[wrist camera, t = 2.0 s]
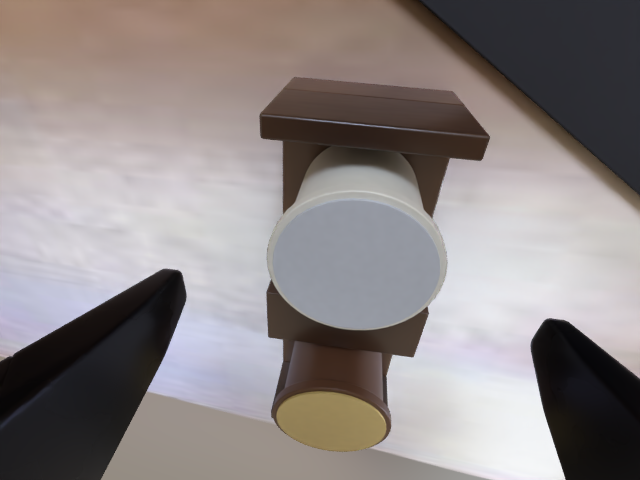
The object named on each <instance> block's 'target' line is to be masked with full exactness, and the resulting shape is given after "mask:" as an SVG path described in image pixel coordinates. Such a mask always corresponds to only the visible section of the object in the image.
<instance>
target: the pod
mask: <svg viewBox="0 0 640 480" xmlns="http://www.w3.org/2000/svg"><path fill="white" fill-rule="evenodd" d="M272 413H273V418H274V421H275V423H276V424H277V426H278V427H279V428H280V429H281V430H282V431H283V432H284V433H285V434H287V435H289V436H290V437H291V438H293V439H295V440H296V441H298V442H300V443H303V444H305V445H308V446H311V447H314V448H318V449H322V450H328V451H339V452H343V451H344V452H347V451H357V450H362V449H366V448H369V447H372V446H374V445H377V444H378V443H380V442H382V441H383V440H384V439H385V438H386V437H387V436H388V434H389V432H390V429H391V415H390V411H389V409H388V407H387V405H386V404H385V403H384V402H383V382H382V353H378V352H371V351H364V350H357V349H349V348H342V347H335V346H328V345H320V344H313V343H306V342H299V341H295V343H294V348H293V353H292V357H291V362H290V366H289V371H288V375H287V380H286V384H285V389H283V390H282V391H281V392H280V393H279V394H278V395H277V397H276V399H275V402H274V406H273V412H272Z"/></svg>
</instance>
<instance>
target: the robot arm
mask: <svg viewBox="0 0 640 480" xmlns="http://www.w3.org/2000/svg"><path fill="white" fill-rule="evenodd" d="M185 302H186V289H185V285H184V280H183V276H182V273H181V272H180V271H178V270H173V269H162V270H160V271H159V272H157V273H155V274H153V275H152V276H150V277H148V278H146V279H145V280H143V281H141V282H139V283H138V284H136V285H134V286H132V287H131V288H129V289H127V290H125V291H123V292H122V293H120V294H118V295H116V296H115V297H113V298H111V299H109V300H108V301H106V302H104V303H102V304H101V305H99V306H97V307H95V308H94V309H92V310H90V311H88V312H87V313H85V314H83V315H81V316H80V317H78V318H76V319H74V320H73V321H71V322H69V323H67V324H66V325H64V326H62V327H60V328H59V329H57V330H55V331H53V332H52V333H50V334H48V335H46V336H45V337H43V338H41V339H39V340H38V341H36V342H34V343H32V344H30V345H29V346H27V347H25V348H23V349H22V350H20V351H18V352H16V353H15V354H14V355H13V357H12V356H10V357H7V358H6V359H4V360H2V361H1V362H0V480H101V478H102V476H103V474H104V472H105V470H106V468H107V466H108V464H109V462H110V460H111V459H112V457H113V455H114V453H115V451H116V449H117V447H118V445H119V443H120V441H121V439H122V438H123V436H124V434H125V431H126V430H127V428H128V426H129V424H130V422H131V420H132V418H133V416H134V414H135V412H136V410H137V409H138V407H139V405H140V403H141V401H142V399H143V397H144V395H145V393H146V391H147V389H148V387H149V385H150V383H151V382H152V380H153V378H154V376H155V374H156V372H157V370H158V368H159V366H160V364H161V362H162V360H163V358H164V356H165V354H166V351H167V349H168V346H169V344H170V341H171V339H172V336H173V333H174V331H175V328H176V326H177V323H178V320H179V318H180V315H181V313H182V310H183V308H184V305H185ZM531 353H532V358H533V363H534V368H535V372H536V377H537V382H538V387H539V392H540V397H541V401H542V405H543V409H544V413H545V416H546V420H547V423H548V426H549V429H550V432H551V435H552V438H553V442H554V445H555V448H556V451H557V454H558V457H559V460H560V463H561V466H562V469H563V472H564V476H565V479H566V480H640V379H639V378H638V377H637V376H636V375H634V374H633V373H632V372H631V371H629V370H628V369H627V368H626V367H624V366H623V365H622V364H621V363H619V362H618V361H617V360H616V359H614V358H613V357H612V356H611V355H609V354H608V353H607V352H605V351H604V350H603V349H602V348H600V347H599V346H598V345H597V344H595V343H594V342H593V341H592V340H590V339H589V338H588V337H587V336H585V335H584V334H583V333H582V332H580V331H579V330H578V329H577V328H575V327H574V326H573V325H572V324H570V323H569V322H567V321H565V320H559V319H552V318H549V319H546V320H544V322H543V323H542V325H541V326H540V328H539V329H538V331H537V332H536V334H535V336H534V337H533V339H532V341H531Z"/></svg>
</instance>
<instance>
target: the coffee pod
mask: <svg viewBox="0 0 640 480" xmlns="http://www.w3.org/2000/svg"><path fill="white" fill-rule="evenodd" d="M267 264H268V270H269V274H270V277H271V279H272V282H273V284H274V286H275V287H276V289H277V291H278V292H279V293H280V295H281V296H282V297H283V298H284V300H285V301H286V302H288V303H289V304H290V305H291V306H292V307H293V308H294V309H296V310H297V311H298V312H300V313H301V314H303V315H305V316H306V317H308V318H310V319H312V320H314V321H316V322H319V323H322V324H325V325H328V326H332V327H335V328H341V329H348V330H374V329H380V328H386V327H389V326H393V325H396V324H399V323H401V322H404V321H406V320H408V319H410V318H412V317H414V316H415V315H417V314H418V313H420V312H421V311H422V310H423V309H425V308H426V307H427V306H428V305H429V304H430V303H431V302H432V301H433V300H434V298H435V297H436V295H437V294H438V292H439V291H440V289H441V287H442V285H443V282H444V280H445V276H446V272H447V253H446V249H445V245H444V242H443V238H442V235H441V233H440V231H439V229H438V227H437V225H436V224H435V222H434V221H433V219H432V218H431V217H430V216H429V215H428V214H427V213H426V212H425V210H424V209H423V204H422V200H421V196H420V192H419V188H418V184H417V180H416V176H415V173H414V171H413V169H412V167H411V166H410V164H409V163H408V161H407V160H406V159H405V158H404V157H403V156H402V155H401V154H400V153H398V152H388V151H378V150H368V149H358V148H349V147H339V146H331V147H329V148H327V149H326V150H324V151H323V152H321V153H320V154H319V155H318V156H317V157H316V158H315V159H314V161H313V162H312V163H311V164H310V166H309V168H308V169H307V172H306V174H305V177H304V179H303V182H302V185H301V188H300V190H299V193H298V196H297V198H296V201H295V203H294V204H293V205H292V206H291V207H290V208H289V209H287V210H286V212H285V213H284V214H283V215H282V216H281V218H280V219H279V221H278V222H277V224H276V226H275V228H274V230H273V233H272V235H271V238H270V240H269V244H268V249H267Z"/></svg>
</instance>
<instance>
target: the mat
mask: <svg viewBox="0 0 640 480" xmlns="http://www.w3.org/2000/svg"><path fill="white" fill-rule="evenodd" d="M419 1H420V2H421V3H422V4H423V5H424V6H425V7H427V8H428V9H429V10H430V11H431V12H432V13H433V14H434V15H436V16H437V17H438V18H439V19H440V20H441V21H442V22H444V23H445V24H446V25H447V26H448V27H449V28H450V29H452V30H453V31H454V32H455V33H456V34H457V35H458V36H459V37H461V38H462V39H463V40H464V41H465V42H466V43H467V44H469V45H470V46H471V47H472V48H473V49H474V50H475V51H476V52H478V53H479V54H480V55H481V56H482V57H483V58H484V59H486V60H487V61H488V62H489V63H490V64H491V65H492V66H494V67H495V68H496V69H497V70H498V71H499V72H500V73H501V74H503V75H504V76H505V77H506V78H507V79H508V80H509V81H511V82H512V83H513V84H514V85H515V86H516V87H517V88H519V89H520V90H521V91H522V92H523V93H524V94H525V95H526V96H528V97H529V98H530V99H531V100H532V101H533V102H534V103H536V104H537V105H538V106H539V107H540V108H541V109H542V110H543V111H545V112H546V113H547V114H548V115H549V116H550V117H551V118H553V119H554V120H555V121H556V122H557V123H558V124H559V125H561V126H562V127H563V128H564V129H565V130H566V131H567V132H568V133H570V134H571V135H572V136H573V137H574V138H575V139H576V140H578V141H579V142H580V143H581V144H582V145H583V146H584V147H586V148H587V149H588V150H589V151H590V152H591V153H592V154H593V155H595V156H596V157H597V158H598V159H599V160H600V161H601V162H603V163H604V164H605V165H606V166H607V167H608V168H609V169H610V170H612V171H613V172H614V173H615V174H616V175H617V176H618V177H620V178H621V179H622V180H623V181H624V182H625V183H626V184H628V185H629V186H630V187H631V188H632V189H633V190H634V191H635V192H637V193H638V194H639V195H640V0H419Z"/></svg>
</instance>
